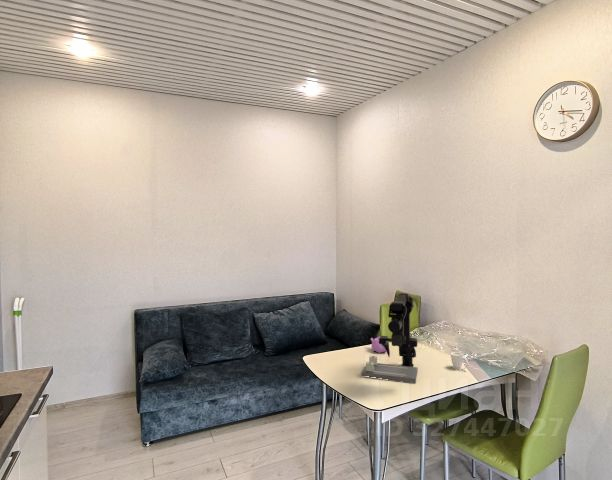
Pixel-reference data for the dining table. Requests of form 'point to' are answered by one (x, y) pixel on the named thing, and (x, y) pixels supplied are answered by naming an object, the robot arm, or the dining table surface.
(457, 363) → the cup
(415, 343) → the robot arm
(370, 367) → the sage fader
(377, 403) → the dining table surface
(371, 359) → the block
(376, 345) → the teapot
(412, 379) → the console
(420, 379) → the dining table surface
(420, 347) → the dining table surface
